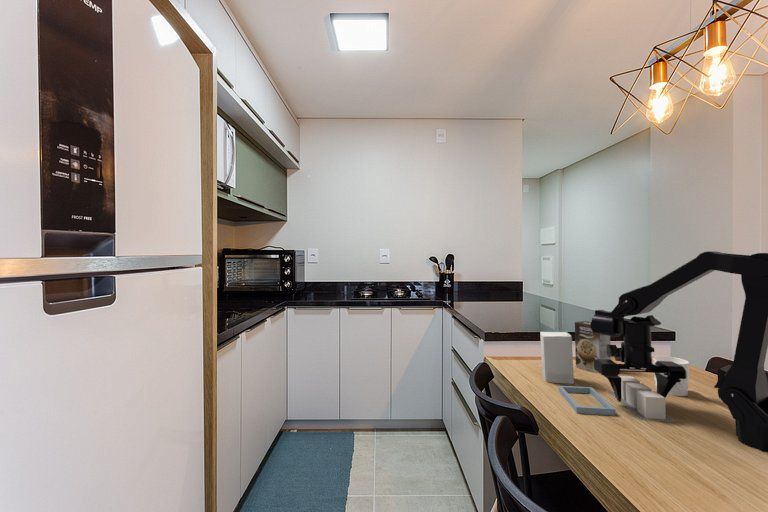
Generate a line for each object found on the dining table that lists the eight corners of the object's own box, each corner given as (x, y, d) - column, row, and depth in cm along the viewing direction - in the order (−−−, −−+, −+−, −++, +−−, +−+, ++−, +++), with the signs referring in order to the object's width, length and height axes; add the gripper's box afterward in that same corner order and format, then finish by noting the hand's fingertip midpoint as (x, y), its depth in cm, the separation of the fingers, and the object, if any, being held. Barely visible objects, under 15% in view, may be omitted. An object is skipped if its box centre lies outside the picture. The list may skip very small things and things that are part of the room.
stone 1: (640, 400, 91) (639, 381, 91) (623, 399, 92) (622, 380, 92) (632, 394, 95) (632, 376, 95) (616, 393, 96) (615, 375, 96)
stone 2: (652, 409, 86) (651, 389, 86) (634, 408, 87) (633, 388, 87) (643, 402, 90) (642, 383, 90) (626, 401, 90) (625, 382, 91)
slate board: (676, 427, 79) (675, 421, 79) (641, 424, 80) (641, 419, 80) (637, 397, 96) (636, 393, 96) (609, 396, 97) (608, 392, 97)
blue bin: (615, 420, 83) (615, 409, 83) (576, 417, 85) (576, 407, 85) (591, 396, 97) (591, 387, 97) (558, 394, 99) (558, 385, 99)
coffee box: (574, 367, 123) (573, 322, 124) (586, 364, 126) (585, 320, 126) (600, 374, 115) (598, 326, 115) (612, 371, 118) (610, 324, 118)
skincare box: (569, 380, 110) (568, 331, 110) (575, 388, 104) (573, 336, 104) (541, 378, 112) (539, 330, 113) (544, 386, 106) (543, 335, 106)
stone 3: (665, 419, 80) (665, 397, 80) (646, 418, 81) (645, 396, 81) (655, 411, 84) (655, 391, 84) (637, 410, 85) (636, 390, 85)
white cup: (697, 402, 92) (696, 364, 92) (663, 400, 94) (662, 363, 94) (678, 391, 100) (677, 356, 100) (647, 389, 101) (646, 355, 102)
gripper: (659, 334, 94) (661, 392, 94) (585, 333, 98) (586, 388, 98) (687, 344, 83) (689, 409, 83) (601, 342, 87) (603, 405, 87)
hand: (639, 402), depth 88 cm, fingers open, 9 cm apart
